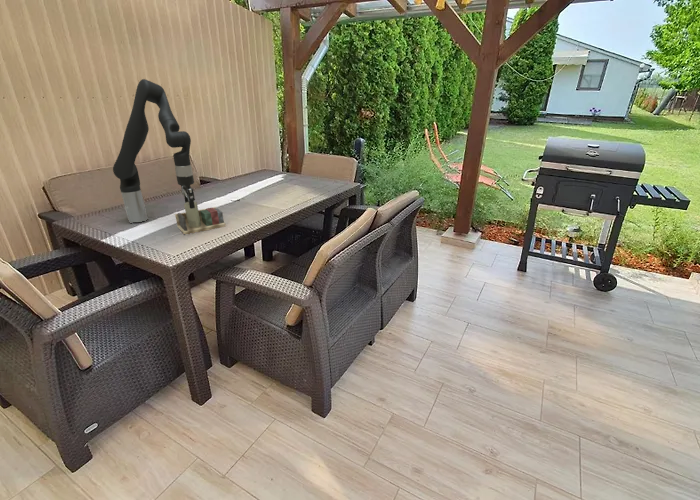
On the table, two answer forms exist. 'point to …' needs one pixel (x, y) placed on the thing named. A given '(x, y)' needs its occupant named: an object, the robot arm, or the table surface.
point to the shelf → (208, 219)
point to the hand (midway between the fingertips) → (190, 206)
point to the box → (192, 215)
